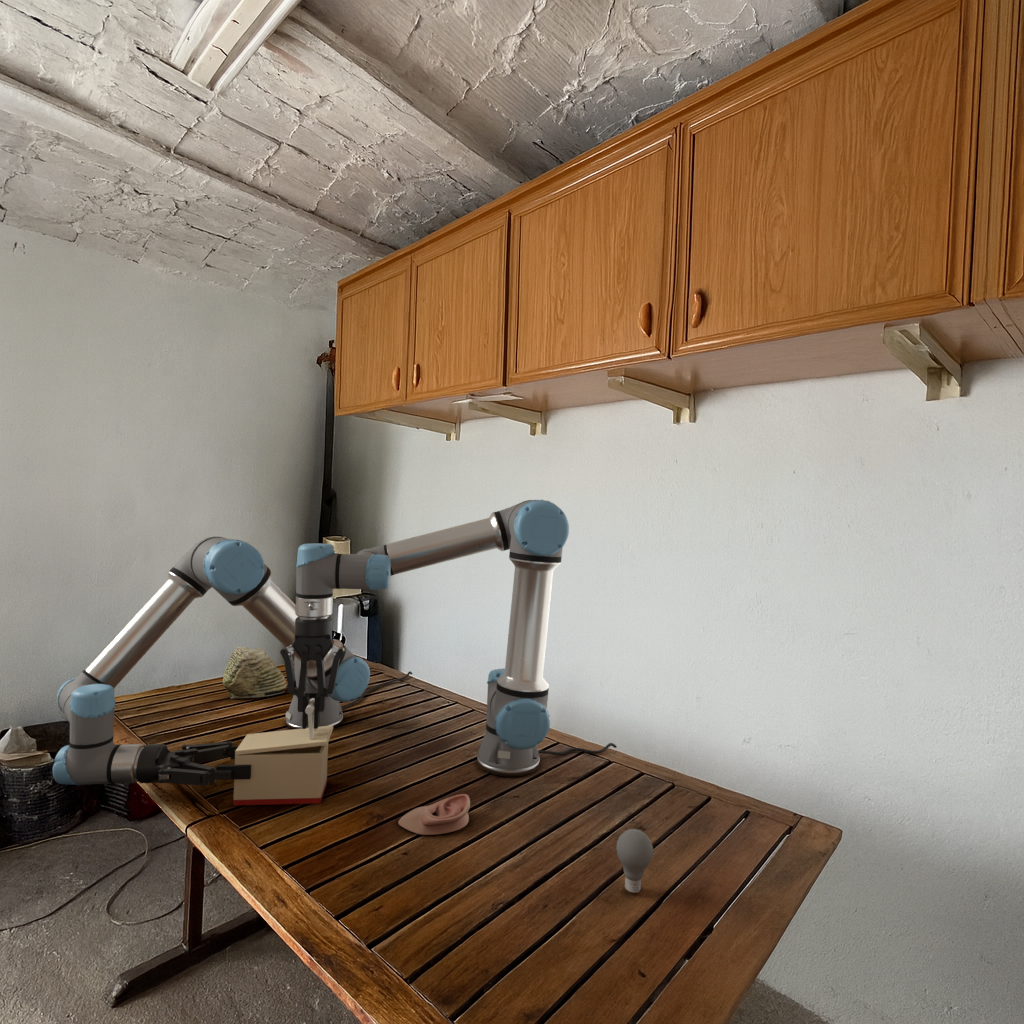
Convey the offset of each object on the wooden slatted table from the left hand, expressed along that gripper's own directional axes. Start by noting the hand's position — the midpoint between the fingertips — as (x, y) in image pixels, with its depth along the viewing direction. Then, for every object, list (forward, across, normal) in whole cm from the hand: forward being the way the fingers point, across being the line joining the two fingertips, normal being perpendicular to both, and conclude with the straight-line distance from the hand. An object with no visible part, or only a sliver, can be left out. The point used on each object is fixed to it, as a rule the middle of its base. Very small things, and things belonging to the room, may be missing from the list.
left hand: (256, 761), depth 133 cm
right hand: (+11, 0, +7) cm, 13 cm away
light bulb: (+69, +39, -7) cm, 80 cm away
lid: (+6, 0, +4) cm, 7 cm away
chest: (+5, 0, -7) cm, 9 cm away
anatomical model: (+37, +14, -7) cm, 40 cm away
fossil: (-17, -68, -7) cm, 70 cm away
